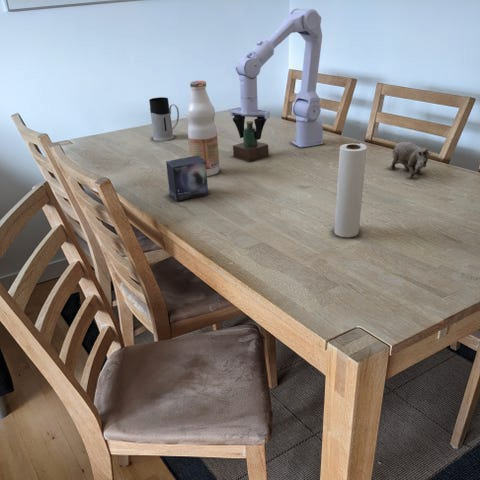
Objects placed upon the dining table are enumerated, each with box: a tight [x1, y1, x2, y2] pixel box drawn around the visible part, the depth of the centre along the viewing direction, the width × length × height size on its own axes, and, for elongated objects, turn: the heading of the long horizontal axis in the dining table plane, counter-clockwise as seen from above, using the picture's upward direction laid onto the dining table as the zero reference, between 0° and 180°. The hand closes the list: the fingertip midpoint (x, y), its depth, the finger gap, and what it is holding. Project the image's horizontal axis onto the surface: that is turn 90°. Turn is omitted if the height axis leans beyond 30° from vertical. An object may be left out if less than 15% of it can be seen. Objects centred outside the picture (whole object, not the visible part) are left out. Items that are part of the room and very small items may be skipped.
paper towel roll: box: [333, 142, 368, 238], centre depth 120 cm, size 7×6×21 cm
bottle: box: [242, 120, 259, 147], centre depth 178 cm, size 5×5×8 cm
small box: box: [165, 155, 209, 202], centre depth 150 cm, size 11×6×10 cm, turn 118°
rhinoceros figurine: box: [389, 140, 432, 180], centre depth 157 cm, size 8×14×15 cm
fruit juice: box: [185, 80, 220, 177], centre depth 162 cm, size 9×9×28 cm
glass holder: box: [148, 96, 180, 142], centre depth 203 cm, size 9×14×15 cm, turn 54°
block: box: [232, 141, 269, 163], centre depth 181 cm, size 9×9×4 cm
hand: (250, 138), depth 179 cm, fingers open, 6 cm apart
